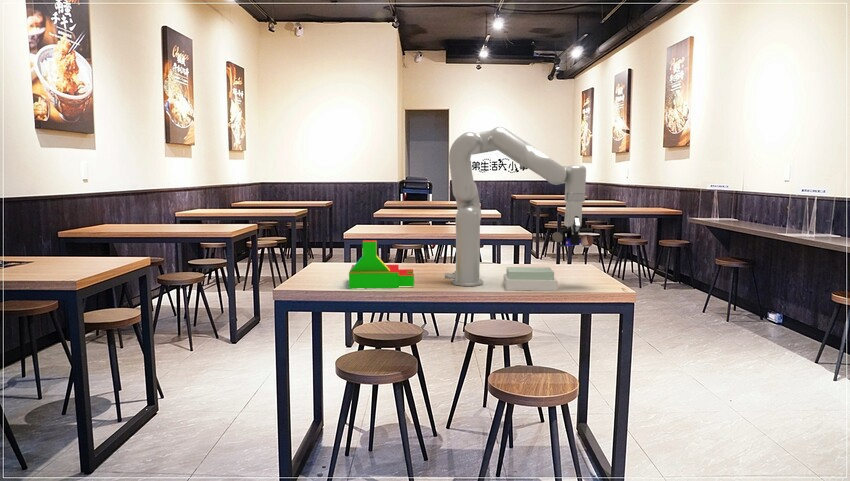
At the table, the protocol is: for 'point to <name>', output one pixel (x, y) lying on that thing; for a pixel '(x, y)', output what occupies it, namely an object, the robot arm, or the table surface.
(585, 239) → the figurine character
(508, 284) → the pale green stepped box
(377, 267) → the building blocks toy
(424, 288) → the table surface
